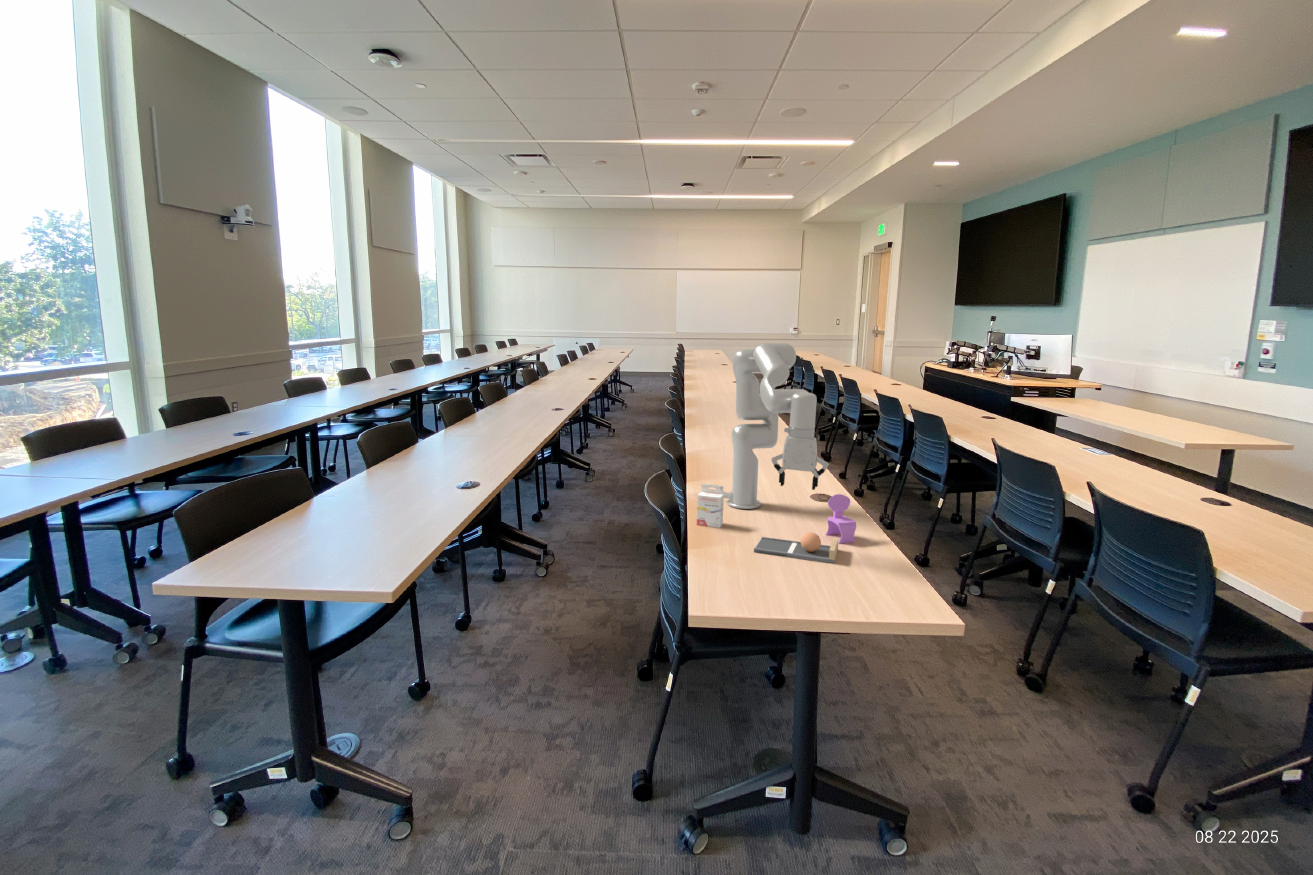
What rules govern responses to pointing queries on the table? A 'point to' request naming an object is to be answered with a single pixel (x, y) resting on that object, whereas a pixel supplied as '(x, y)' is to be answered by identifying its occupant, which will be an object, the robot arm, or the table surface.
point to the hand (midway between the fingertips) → (797, 486)
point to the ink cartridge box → (710, 506)
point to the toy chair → (840, 519)
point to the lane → (797, 550)
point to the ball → (810, 542)
